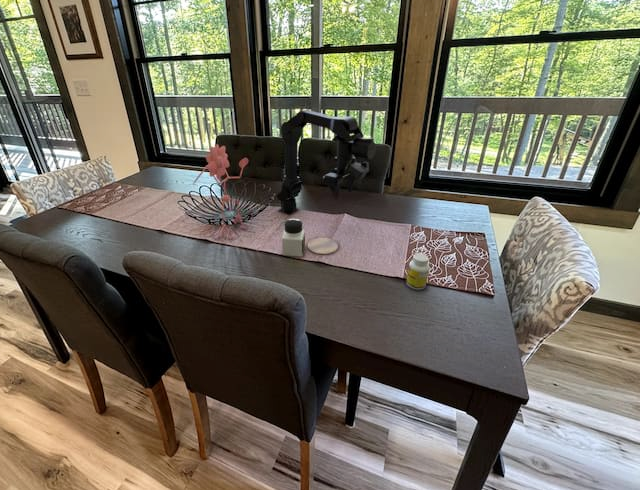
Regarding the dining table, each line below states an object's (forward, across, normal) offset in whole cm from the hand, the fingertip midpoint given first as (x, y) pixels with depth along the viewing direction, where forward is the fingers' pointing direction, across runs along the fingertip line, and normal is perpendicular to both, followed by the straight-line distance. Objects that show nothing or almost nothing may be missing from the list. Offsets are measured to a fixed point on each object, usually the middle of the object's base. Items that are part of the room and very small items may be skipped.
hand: (343, 195), depth 117 cm
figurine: (+15, -30, +36) cm, 49 cm away
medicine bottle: (+15, -24, +4) cm, 28 cm away
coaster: (+15, -15, -2) cm, 21 cm away
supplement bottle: (+15, -15, -36) cm, 41 cm away
